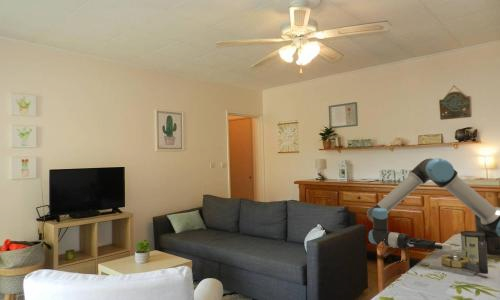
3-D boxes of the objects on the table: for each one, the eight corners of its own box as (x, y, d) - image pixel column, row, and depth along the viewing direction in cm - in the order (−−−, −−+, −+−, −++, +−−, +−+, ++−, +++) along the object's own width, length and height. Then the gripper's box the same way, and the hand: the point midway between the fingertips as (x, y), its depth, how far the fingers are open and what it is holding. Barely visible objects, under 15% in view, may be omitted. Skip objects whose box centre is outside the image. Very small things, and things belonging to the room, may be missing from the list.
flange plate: (440, 259, 174) (440, 248, 174) (487, 267, 159) (487, 255, 160) (429, 268, 161) (428, 256, 161) (478, 277, 147) (477, 264, 147)
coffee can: (480, 258, 173) (479, 230, 174) (490, 264, 163) (488, 235, 164) (458, 257, 175) (457, 230, 176) (467, 263, 165) (465, 235, 166)
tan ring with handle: (436, 261, 165) (434, 234, 165) (454, 258, 168) (452, 232, 169) (477, 275, 144) (475, 244, 145) (497, 271, 148) (495, 241, 148)
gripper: (404, 245, 179) (454, 253, 162) (394, 250, 169) (446, 259, 153) (403, 231, 179) (454, 237, 162) (393, 235, 170) (446, 242, 153)
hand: (450, 248), depth 157 cm, fingers closed
